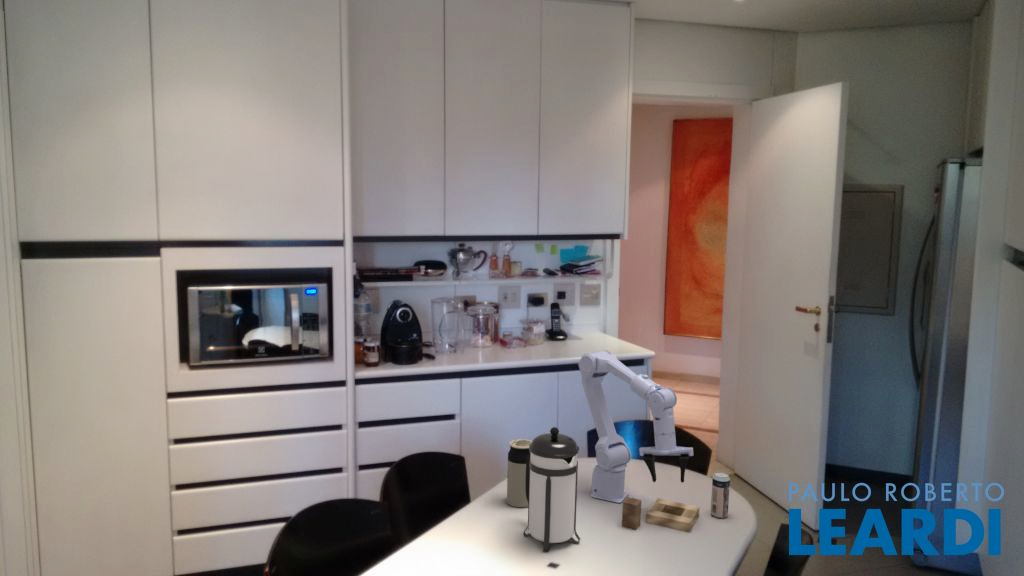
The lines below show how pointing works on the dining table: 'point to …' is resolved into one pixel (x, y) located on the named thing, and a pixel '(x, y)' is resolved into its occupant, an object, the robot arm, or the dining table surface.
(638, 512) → the walnut peg
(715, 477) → the beer can
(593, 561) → the dining table surface
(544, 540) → the coffee press
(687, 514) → the oak socket block
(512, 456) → the travel mug
